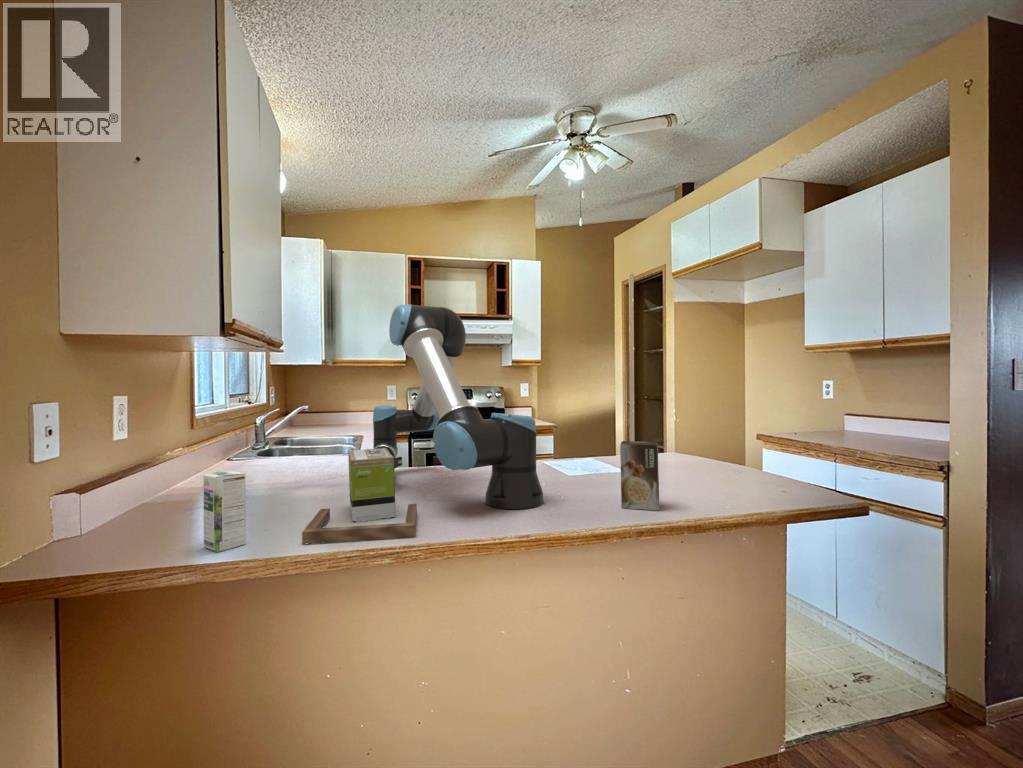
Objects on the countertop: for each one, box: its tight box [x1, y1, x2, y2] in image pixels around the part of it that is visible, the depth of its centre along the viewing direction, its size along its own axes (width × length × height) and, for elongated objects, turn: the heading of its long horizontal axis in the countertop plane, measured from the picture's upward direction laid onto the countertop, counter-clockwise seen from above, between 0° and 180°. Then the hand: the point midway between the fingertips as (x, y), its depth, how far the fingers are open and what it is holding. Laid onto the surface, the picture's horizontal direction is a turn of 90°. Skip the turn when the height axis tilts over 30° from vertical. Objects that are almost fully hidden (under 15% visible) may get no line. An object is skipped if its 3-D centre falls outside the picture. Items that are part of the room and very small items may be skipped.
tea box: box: [347, 448, 396, 522], centre depth 121 cm, size 15×10×15 cm, turn 21°
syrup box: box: [203, 470, 247, 553], centre depth 98 cm, size 6×6×14 cm
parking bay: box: [301, 503, 418, 545], centre depth 108 cm, size 22×18×2 cm
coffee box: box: [619, 440, 661, 512], centre depth 123 cm, size 9×6×16 cm
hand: (374, 472), depth 131 cm, fingers closed
